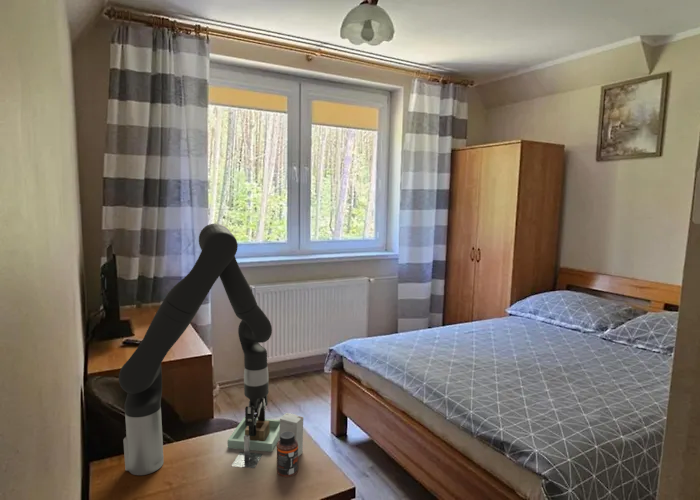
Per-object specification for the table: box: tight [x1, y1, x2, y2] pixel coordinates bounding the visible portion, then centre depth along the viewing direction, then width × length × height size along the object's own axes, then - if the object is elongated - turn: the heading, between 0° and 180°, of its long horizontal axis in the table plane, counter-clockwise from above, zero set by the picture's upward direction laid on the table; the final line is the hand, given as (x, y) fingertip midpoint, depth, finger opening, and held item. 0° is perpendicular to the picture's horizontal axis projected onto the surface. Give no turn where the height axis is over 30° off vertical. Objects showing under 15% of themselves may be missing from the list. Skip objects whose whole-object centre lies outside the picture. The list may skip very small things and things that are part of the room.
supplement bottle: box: [276, 431, 299, 478], centre depth 126 cm, size 6×6×11 cm
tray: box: [227, 416, 280, 453], centre depth 143 cm, size 14×14×3 cm
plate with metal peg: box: [231, 435, 263, 469], centre depth 131 cm, size 7×7×8 cm
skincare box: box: [278, 412, 304, 458], centre depth 134 cm, size 6×4×12 cm
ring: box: [245, 420, 270, 441], centre depth 143 cm, size 6×7×4 cm
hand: (257, 428), depth 143 cm, fingers open, 8 cm apart
